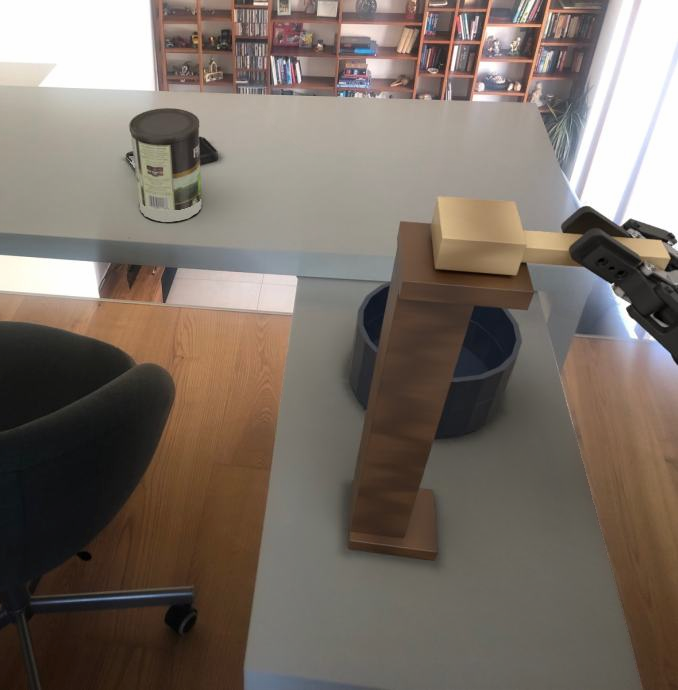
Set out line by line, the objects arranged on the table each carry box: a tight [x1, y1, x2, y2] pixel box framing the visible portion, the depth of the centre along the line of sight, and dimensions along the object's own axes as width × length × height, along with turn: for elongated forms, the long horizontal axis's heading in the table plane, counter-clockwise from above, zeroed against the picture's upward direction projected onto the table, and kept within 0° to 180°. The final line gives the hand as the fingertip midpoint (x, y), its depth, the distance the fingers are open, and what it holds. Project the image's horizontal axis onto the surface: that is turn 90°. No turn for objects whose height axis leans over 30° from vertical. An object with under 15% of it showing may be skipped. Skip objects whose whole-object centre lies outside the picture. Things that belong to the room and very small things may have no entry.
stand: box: [347, 220, 535, 561], centre depth 57 cm, size 8×7×32 cm
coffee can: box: [128, 107, 202, 211], centre depth 106 cm, size 10×10×14 cm
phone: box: [125, 136, 219, 174], centre depth 122 cm, size 8×1×15 cm
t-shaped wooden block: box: [430, 195, 670, 275], centre depth 44 cm, size 14×5×2 cm, turn 81°
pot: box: [348, 281, 523, 439], centre depth 78 cm, size 17×17×9 cm
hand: (577, 230), depth 43 cm, fingers closed on t-shaped wooden block, 2 cm apart
